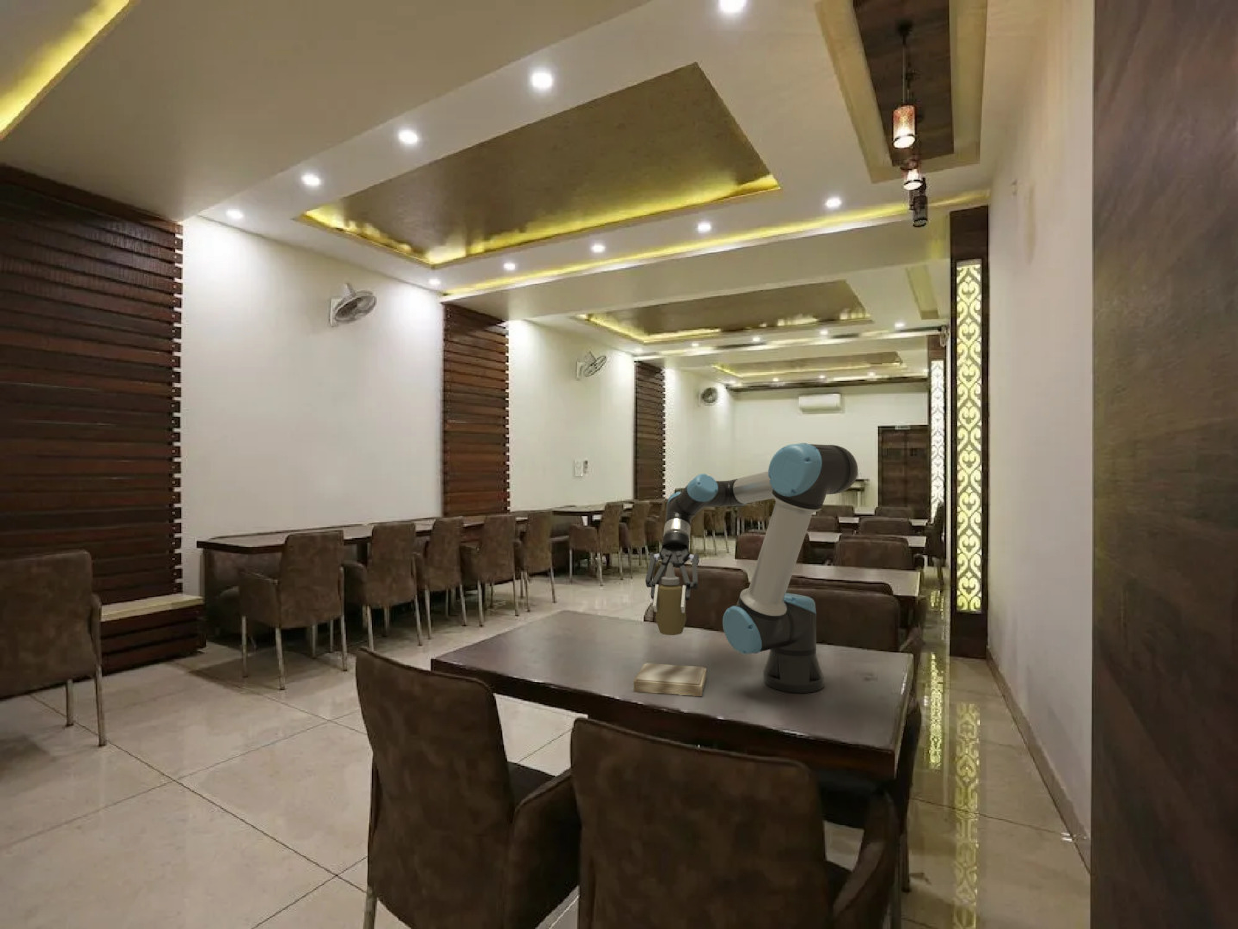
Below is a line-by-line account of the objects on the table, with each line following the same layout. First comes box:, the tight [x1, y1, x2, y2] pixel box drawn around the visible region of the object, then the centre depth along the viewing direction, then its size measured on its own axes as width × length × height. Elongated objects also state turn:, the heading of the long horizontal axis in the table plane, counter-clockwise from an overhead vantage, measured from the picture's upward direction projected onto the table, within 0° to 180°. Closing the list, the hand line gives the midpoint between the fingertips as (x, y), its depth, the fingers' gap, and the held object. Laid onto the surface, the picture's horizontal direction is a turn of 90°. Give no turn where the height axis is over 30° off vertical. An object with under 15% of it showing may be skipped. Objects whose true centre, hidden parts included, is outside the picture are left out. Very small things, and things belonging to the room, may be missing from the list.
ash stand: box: [633, 662, 707, 697], centre depth 153 cm, size 17×14×3 cm
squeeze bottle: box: [655, 563, 687, 636], centre depth 153 cm, size 8×8×18 cm
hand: (668, 609), depth 150 cm, fingers closed on squeeze bottle, 6 cm apart
